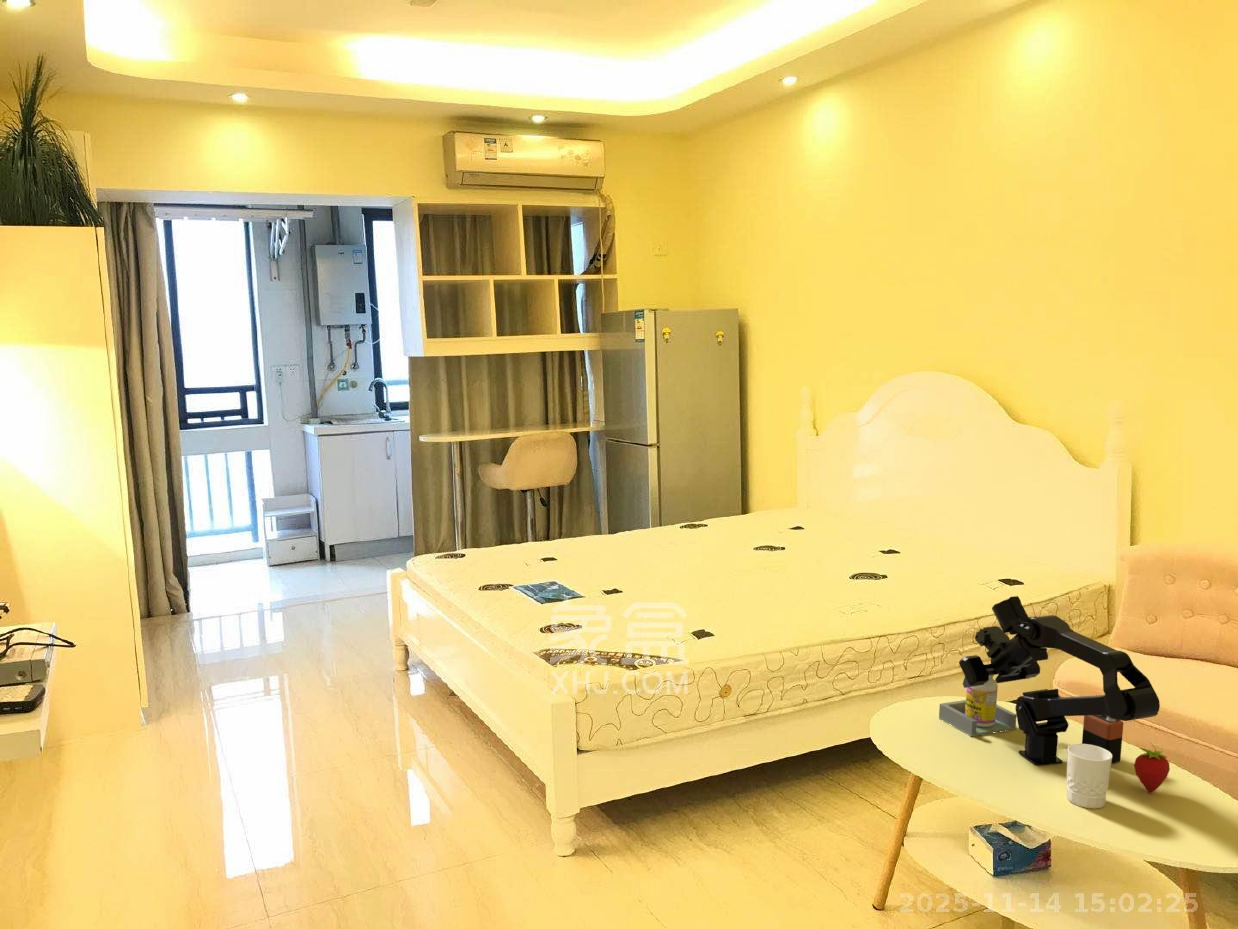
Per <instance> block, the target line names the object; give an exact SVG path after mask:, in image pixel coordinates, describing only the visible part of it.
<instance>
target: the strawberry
mask: <svg viewBox="0 0 1238 929" xmlns="http://www.w3.org/2000/svg"><path fill="white" fill-rule="evenodd" d="M1150 745H1152V747H1154V751H1152V750H1151V749H1146V748H1143V747H1140V750H1142V751H1143V752H1145V753H1142V754H1139V755H1138V756H1137V757H1136V758H1135V759H1134V763H1133V766H1134V771H1135V774H1136V776H1137V778H1138V780H1139V782H1140V783H1141V784H1142V786H1143V787H1144V788H1145V790H1146V791H1147V792H1148V793H1150V794H1152V793H1154V792H1155V791H1156V790H1157V789H1158V788H1159V787H1161V785H1162V784H1163V783H1164V781H1165V780H1166V779H1167V777H1168V775H1169V772H1170V770H1171V769H1170V762H1169V761H1168V759H1167V758H1168V756H1166V755H1164V754H1162V753H1163V752H1164V751H1162V750H1161V751H1160V750H1157V748H1156V747H1155V745H1153V743H1152V742H1150Z"/></svg>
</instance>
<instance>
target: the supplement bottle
mask: <svg viewBox="0 0 1238 929" xmlns="http://www.w3.org/2000/svg"><path fill="white" fill-rule="evenodd" d="M994 676H995V675H990V676H989V681H987V682H986V683H984V685H980V686H973V687H967V688H966V694H965V695H966V696H965V700H966V705H965V715H967V716H969V717H971V718H972V719H974V720H976V721H977V724H976V726H977V727H990V726H993V725H994V724H995V718H996V704H997V700H998V690H999V689H998V687H999V686H998V683H997V682H996V680H995V678H994Z"/></svg>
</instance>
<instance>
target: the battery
mask: <svg viewBox="0 0 1238 929" xmlns="http://www.w3.org/2000/svg"><path fill="white" fill-rule="evenodd" d="M1082 726H1083V727H1082V738H1081V739H1082V740H1081V744H1089V745H1094V746H1098V747H1101V748H1104V749H1106V750H1108V751H1109V752H1110V753H1111V754H1112V763H1111V765H1113V764H1116V763H1117V764H1118V763H1119V762H1121V757H1122V756H1121V755H1122V744H1123V736H1124V735H1123V734H1124V722H1123V721H1122V720H1116V719H1112V718H1110V717H1108V716H1107V715H1087V716H1083V725H1082Z"/></svg>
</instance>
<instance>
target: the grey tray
mask: <svg viewBox="0 0 1238 929" xmlns="http://www.w3.org/2000/svg"><path fill="white" fill-rule="evenodd" d="M965 705H966V699H964V700H963V699H961V700H957V701H951V702H948V701H947V702H942V703H939V709H938V711H939V712H938V719H939V720H940V721H942V720H943V722H945V723H946V724H948V725H949V724H951V725H952V726H951V725H950V726H951V727H953V726H954V727H953V728H955V729H956V728H957V729H956V730H958V729H959V731H960V730H962V731H963V732H962V731H961V732H962V733H964V734H965V733H966V734H965V735H967V734H968V735H967V736H969V737H971V736H974V737H978V736H977V735H980V736H984V735H983V734H986V735H990V734H989V733H992V734H994V733H993V732H998V733H1001V732H1000V731H1004V732H1008V731H1007V730H1010V731H1015V730H1016V726H1017V715H1016V712H1013V711H1010V710H1008V709H1006V708H1005V707H1003V706H1001V705H999V704H997V703H996V718H995V724H994V725H993V726H990V727H977V726H976V724H977V721H976V720H974V719H972V718H971V717H969V716H967V715H965ZM1005 730H1006V731H1005Z"/></svg>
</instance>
